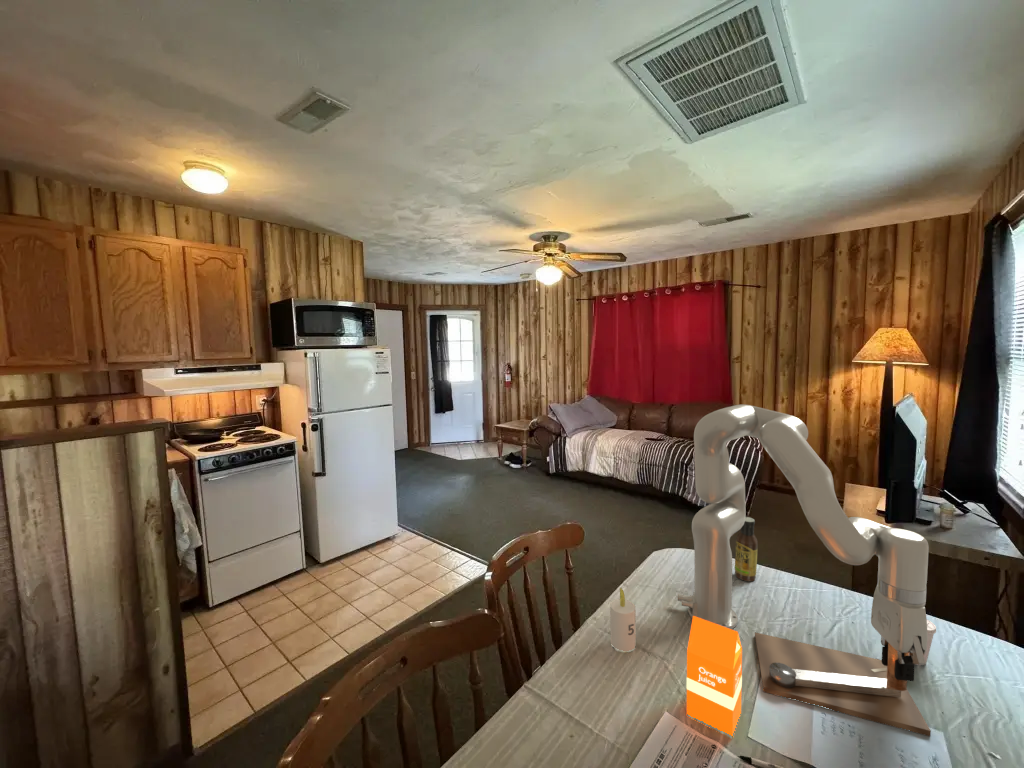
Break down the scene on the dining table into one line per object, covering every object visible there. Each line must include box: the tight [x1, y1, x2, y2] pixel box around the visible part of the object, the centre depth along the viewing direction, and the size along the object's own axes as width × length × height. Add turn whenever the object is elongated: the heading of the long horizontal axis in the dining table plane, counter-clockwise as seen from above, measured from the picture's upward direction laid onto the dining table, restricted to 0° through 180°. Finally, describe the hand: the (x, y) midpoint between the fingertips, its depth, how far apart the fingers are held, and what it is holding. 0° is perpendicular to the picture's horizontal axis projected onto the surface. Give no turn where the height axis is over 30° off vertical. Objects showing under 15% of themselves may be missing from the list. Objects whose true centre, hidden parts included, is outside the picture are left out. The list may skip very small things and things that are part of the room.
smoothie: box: [908, 619, 937, 666], centre depth 102 cm, size 6×6×14 cm
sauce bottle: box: [734, 516, 759, 582], centre depth 139 cm, size 6×6×20 cm
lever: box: [769, 643, 909, 697], centre depth 93 cm, size 26×5×12 cm, turn 79°
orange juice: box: [686, 616, 743, 737], centre depth 88 cm, size 8×9×20 cm
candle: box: [609, 587, 637, 651], centre depth 110 cm, size 6×6×15 cm
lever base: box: [754, 632, 932, 737], centre depth 98 cm, size 28×20×1 cm
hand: (897, 671), depth 91 cm, fingers closed on lever, 3 cm apart
